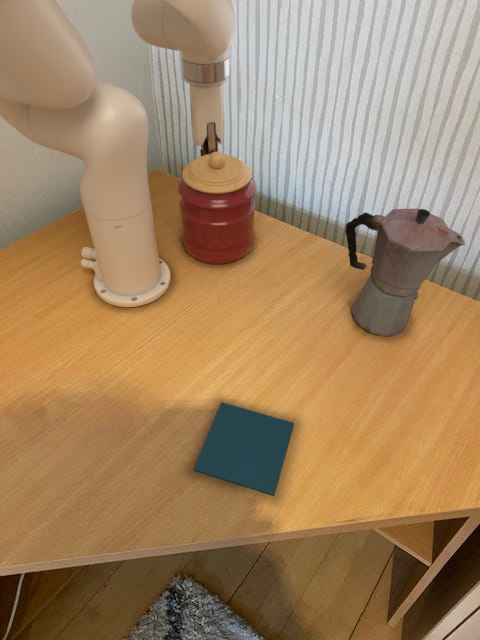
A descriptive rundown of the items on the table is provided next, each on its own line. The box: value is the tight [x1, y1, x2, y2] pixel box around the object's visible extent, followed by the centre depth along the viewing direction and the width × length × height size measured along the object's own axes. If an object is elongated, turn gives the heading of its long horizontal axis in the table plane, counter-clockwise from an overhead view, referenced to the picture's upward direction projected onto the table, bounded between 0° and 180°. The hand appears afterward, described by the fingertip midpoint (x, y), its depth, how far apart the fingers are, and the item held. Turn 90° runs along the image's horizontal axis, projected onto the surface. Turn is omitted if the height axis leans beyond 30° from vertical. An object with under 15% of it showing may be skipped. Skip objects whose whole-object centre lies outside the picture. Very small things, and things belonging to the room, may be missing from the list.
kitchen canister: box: [177, 151, 257, 265], centre depth 81 cm, size 13×13×18 cm
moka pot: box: [345, 208, 466, 337], centre depth 68 cm, size 10×15×20 cm, turn 78°
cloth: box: [193, 401, 295, 497], centre depth 59 cm, size 10×10×1 cm
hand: (210, 170), depth 90 cm, fingers closed
